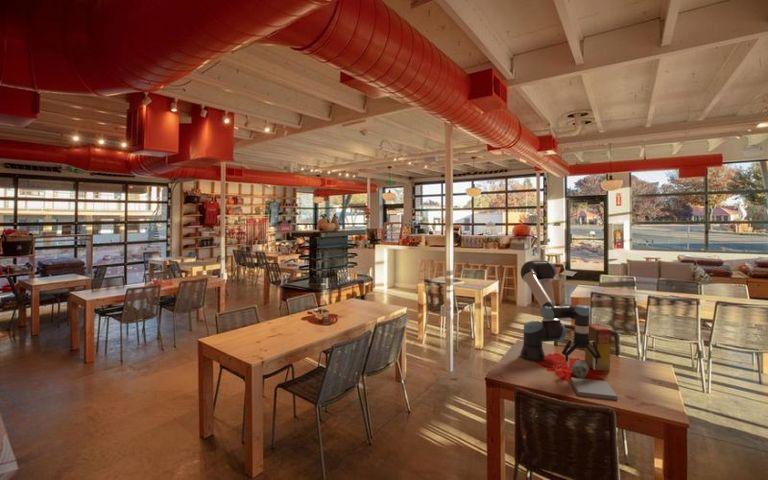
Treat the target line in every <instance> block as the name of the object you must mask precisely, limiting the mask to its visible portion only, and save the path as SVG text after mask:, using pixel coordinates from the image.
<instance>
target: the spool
mask: <svg viewBox="0 0 768 480" xmlns="http://www.w3.org/2000/svg"><path fill="white" fill-rule="evenodd" d="M589 371H590V366H589V365H588V363H586V362H585V360H584V359H583V360H582V359H577V360H576V361H574V363H573V364H572V366H571V373H572V374H573V375H574V376H575V377H576V378H581V379H585V378H586V377H587V375H588V373H589Z"/></svg>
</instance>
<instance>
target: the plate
mask: <svg viewBox="0 0 768 480" xmlns="http://www.w3.org/2000/svg"><path fill="white" fill-rule="evenodd" d="M570 382H571V384H572V387H573V388H574V391H575V392H576V394H577V396H578V397H579V396H580V397H588V398H598V399H606V400H613V401H618V395H617V393H616V392H615V390H613V388H612V386H611V385H610V384H609V382H608V381H607V380H601V379H600V380H598V379H591V378H590V379H589V378H578V377H572V376H571V377H570Z"/></svg>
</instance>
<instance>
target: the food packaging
mask: <svg viewBox="0 0 768 480" xmlns="http://www.w3.org/2000/svg"><path fill="white" fill-rule="evenodd" d="M589 341H594V342H595V346H596V348H597V350H598V352H599V354H600V356H601V358H598V359H597V364H595V370H594V371H609V372H611V371H610V368H611V367H610V366H611V348H612V347H611V346H612V345H611V344H612V330H611V329H609V328H607V327H606V326H603V325H601V324H597V323H596V324H595V323H593V324H592V323H589ZM588 347H589V348H590V349H591V350H592V351H593V353H594V354H595V355H597V354H596V352H595V350H594V348H593V346H592V345H591V344H589V345H588ZM584 352H585V353H584V361H585V362H586V363H588V365H589V368H592V369H593V357H594V356H593V355H592V354H591V353H590V351H589V350H588V349H587V348H585V349H584Z"/></svg>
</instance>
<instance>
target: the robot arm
mask: <svg viewBox="0 0 768 480" xmlns="http://www.w3.org/2000/svg"><path fill="white" fill-rule="evenodd" d="M556 275H557V268H556V265H555V263H553V261H550V260H529V261H526V262H525V263H523V265H522V266H521V268H520V277H521V280H522V281H523V282H524V283H526V284H527V286H528V288H529V290H530V291H531V293H532V295H533V296H534V297H535V299H536V301H537V302H538V305H539V306H540V312H539V313H540V315H541V318H542V320H541V321H538V320H537V321H535V320H532V321H527V322H525V323H524V325H523V330H522V331H523V345H522V348H521V351H520V353H519V354H520V357H521V359H523V360H525V361H528V362H529V361H530V362H537V363H539V362H543V361H545V360H546V355H545V351H544V348H543V343H545V342H546V343H547V342H561V341H563V340H564V339H565V337H566V334H567V329H566V326H565V324H564V323H562V322H561V319H571V320H574V333H573V334H574V335H573V339H571V338H568V339H567V343H566V344H565V346H564V347H563V350H562V352H561V354H562V355H563V356H565V357H564V358H565V359H564V360H565V361H566V366H567V368H570V360H571V359H570V358H571V357H570V355H571V354H572V353H573V352H574V351H575V350H576V349H584V350H585V348H587V349H588V350H589V351H590V353H591V354H592V355H593V356H594V357H593V368H592V370H593V371H596V370H595V364H597V359H598V358H601V356H600V354H599V352H598V350H597V348H596V346H595V342H594V341H589V324H590V314H591V313H590V307H589V306H588V305H584V304H583V305H582V304H576V305H575V306H574V305H572V304H567V303H566V304H562V305H556V301H555V293H554V287H553V281H554V278H555V277H556ZM572 344H573V345H572ZM589 344H591V345H592V346H593V348H594V350H595V352H596V354H597V355H595V354H594V353H593V351H592V350H591V349H590V348H589V347H588V345H589ZM571 345H572V346H571ZM570 346H571V347H570Z"/></svg>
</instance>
